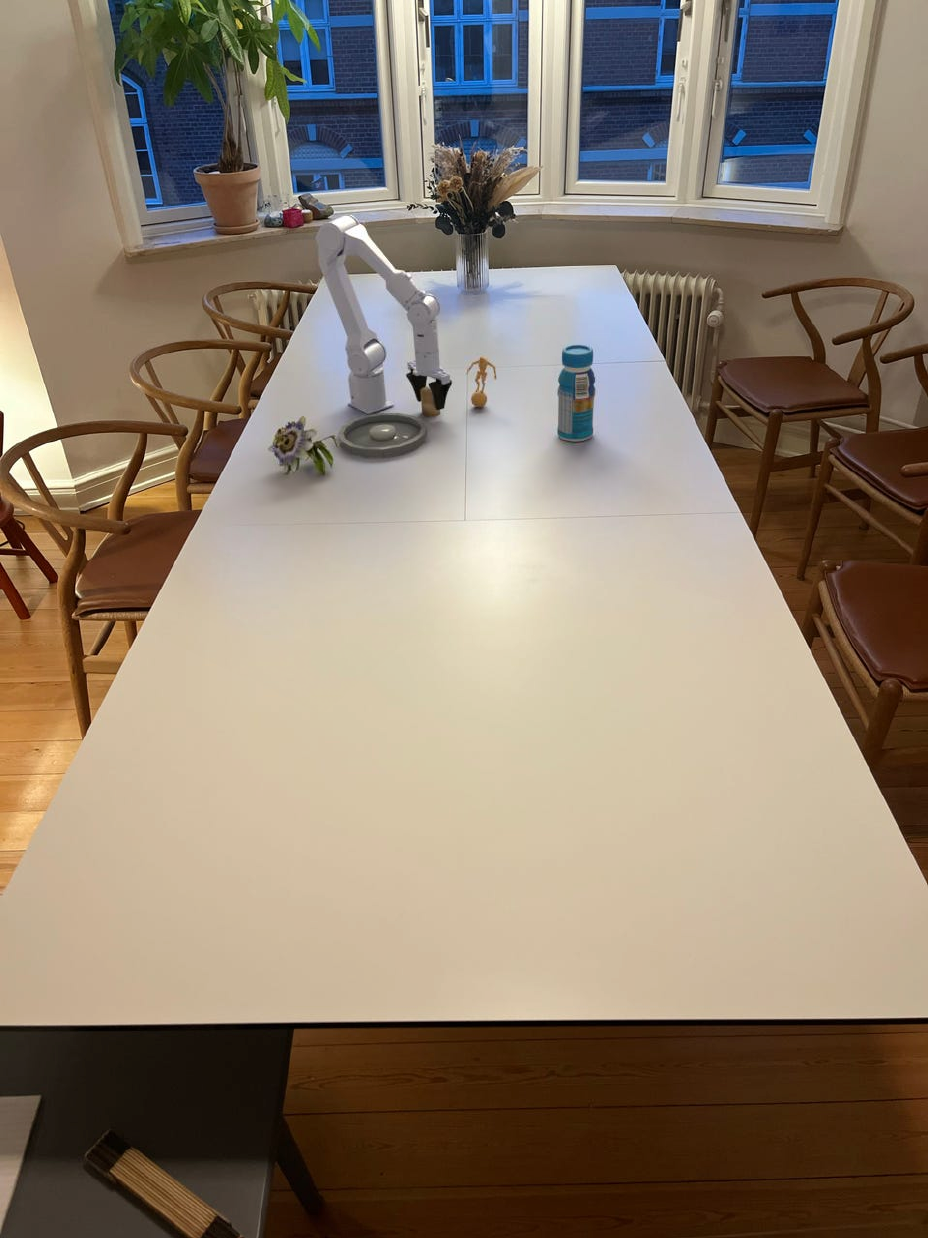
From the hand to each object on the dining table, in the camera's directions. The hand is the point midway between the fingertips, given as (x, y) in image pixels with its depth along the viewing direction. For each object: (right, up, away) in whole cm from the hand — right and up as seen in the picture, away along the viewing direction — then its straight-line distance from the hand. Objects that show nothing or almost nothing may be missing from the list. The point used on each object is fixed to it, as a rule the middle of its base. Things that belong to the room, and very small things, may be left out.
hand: (430, 404), depth 214 cm
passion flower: (-27, -19, -20) cm, 38 cm away
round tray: (-11, -10, -10) cm, 18 cm away
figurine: (+13, +1, +4) cm, 13 cm away
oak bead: (0, -2, +1) cm, 2 cm away
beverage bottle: (+34, -10, -13) cm, 38 cm away
